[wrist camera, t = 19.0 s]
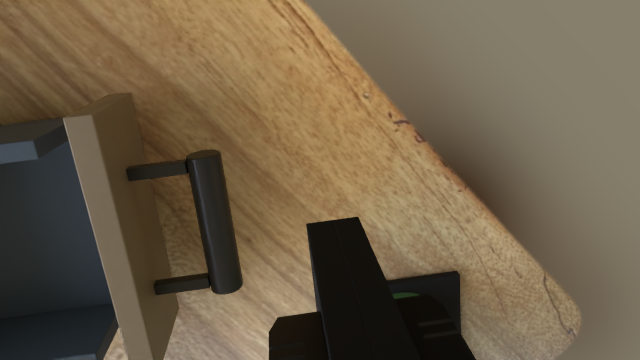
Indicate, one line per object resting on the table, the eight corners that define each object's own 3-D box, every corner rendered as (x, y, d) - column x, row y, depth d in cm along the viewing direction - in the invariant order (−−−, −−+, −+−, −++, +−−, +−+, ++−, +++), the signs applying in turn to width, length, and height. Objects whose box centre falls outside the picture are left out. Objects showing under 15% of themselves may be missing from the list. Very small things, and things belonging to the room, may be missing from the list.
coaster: (459, 375, 34) (462, 380, 34) (341, 394, 34) (343, 399, 33) (457, 270, 32) (460, 274, 31) (330, 288, 31) (331, 292, 31)
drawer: (216, 82, 26) (202, 100, 20) (253, 297, 30) (249, 362, 24) (-173, 127, 25) (-303, 160, 19) (-81, 345, 29) (-166, 425, 23)
